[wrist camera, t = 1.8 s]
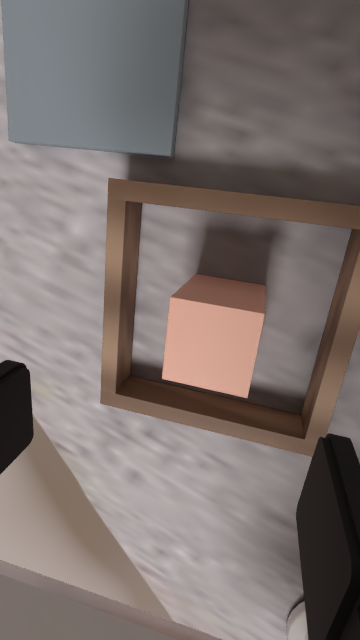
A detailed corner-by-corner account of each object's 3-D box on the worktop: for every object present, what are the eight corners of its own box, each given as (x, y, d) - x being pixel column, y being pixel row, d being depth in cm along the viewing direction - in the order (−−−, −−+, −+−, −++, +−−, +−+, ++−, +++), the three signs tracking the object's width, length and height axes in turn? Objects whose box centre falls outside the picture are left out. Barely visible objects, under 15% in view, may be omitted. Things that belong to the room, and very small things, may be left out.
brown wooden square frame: (313, 431, 26) (318, 458, 23) (116, 385, 29) (100, 403, 26) (379, 209, 20) (396, 209, 18) (127, 181, 24) (108, 178, 21)
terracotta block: (252, 350, 25) (247, 398, 19) (188, 336, 26) (161, 378, 20) (265, 285, 24) (264, 314, 17) (196, 274, 24) (170, 297, 18)
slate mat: (173, 157, 22) (170, 155, 22) (16, 142, 25) (8, 140, 24) (196, -84, 18) (193, -96, 18) (6, -75, 21) (-4, -86, 20)
